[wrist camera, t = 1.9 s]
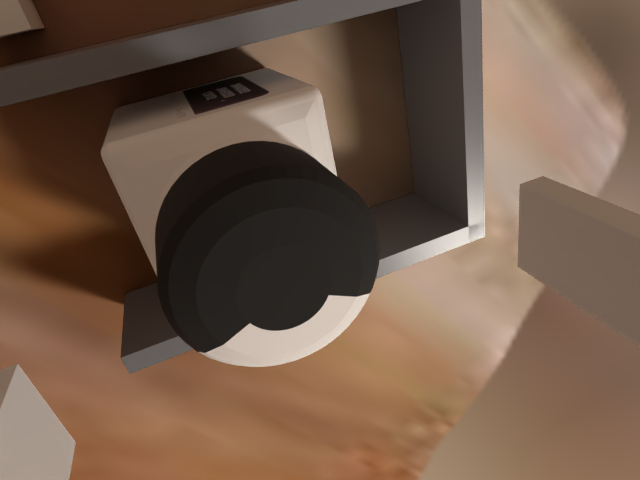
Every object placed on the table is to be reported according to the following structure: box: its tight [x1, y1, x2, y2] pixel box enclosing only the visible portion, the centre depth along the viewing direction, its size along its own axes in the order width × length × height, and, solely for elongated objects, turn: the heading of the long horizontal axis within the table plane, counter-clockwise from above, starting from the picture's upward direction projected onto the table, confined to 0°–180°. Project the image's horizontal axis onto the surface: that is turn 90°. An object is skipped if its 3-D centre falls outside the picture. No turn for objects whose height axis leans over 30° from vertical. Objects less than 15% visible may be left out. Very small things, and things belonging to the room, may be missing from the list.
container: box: [101, 68, 380, 367], centre depth 18 cm, size 8×8×13 cm
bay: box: [0, 0, 485, 373], centre depth 21 cm, size 19×13×6 cm
